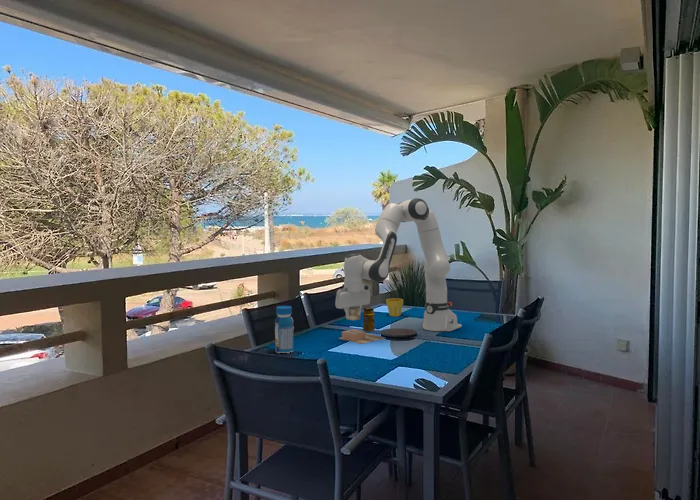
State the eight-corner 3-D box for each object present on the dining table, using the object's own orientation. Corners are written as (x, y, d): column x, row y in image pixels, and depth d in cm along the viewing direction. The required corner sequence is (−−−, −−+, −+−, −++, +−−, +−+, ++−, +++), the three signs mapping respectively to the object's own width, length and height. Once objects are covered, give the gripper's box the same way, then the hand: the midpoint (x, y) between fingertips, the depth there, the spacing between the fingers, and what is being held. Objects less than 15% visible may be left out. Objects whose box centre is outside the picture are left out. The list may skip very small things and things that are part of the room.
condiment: (377, 331, 256) (377, 308, 256) (364, 333, 252) (364, 310, 251) (369, 328, 263) (369, 306, 262) (356, 330, 258) (356, 308, 257)
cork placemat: (363, 333, 251) (363, 332, 251) (386, 338, 239) (386, 337, 239) (338, 338, 240) (338, 338, 240) (361, 344, 228) (361, 344, 228)
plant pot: (384, 316, 295) (384, 300, 294) (388, 313, 304) (388, 298, 304) (401, 317, 292) (401, 301, 291) (404, 314, 301) (404, 298, 301)
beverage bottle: (285, 355, 211) (285, 309, 210) (271, 352, 216) (270, 307, 215) (298, 350, 219) (297, 306, 217) (283, 348, 223) (282, 304, 222)
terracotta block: (354, 336, 244) (354, 329, 244) (365, 338, 238) (365, 331, 238) (342, 338, 239) (341, 331, 238) (353, 341, 233) (353, 334, 233)
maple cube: (353, 317, 241) (353, 307, 241) (360, 319, 238) (360, 308, 237) (345, 318, 238) (345, 308, 238) (352, 320, 234) (352, 310, 234)
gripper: (341, 289, 228) (341, 319, 229) (372, 286, 241) (372, 313, 242) (332, 288, 232) (332, 317, 233) (363, 284, 246) (363, 312, 247)
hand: (353, 315), depth 238 cm, fingers closed on maple cube, 5 cm apart
